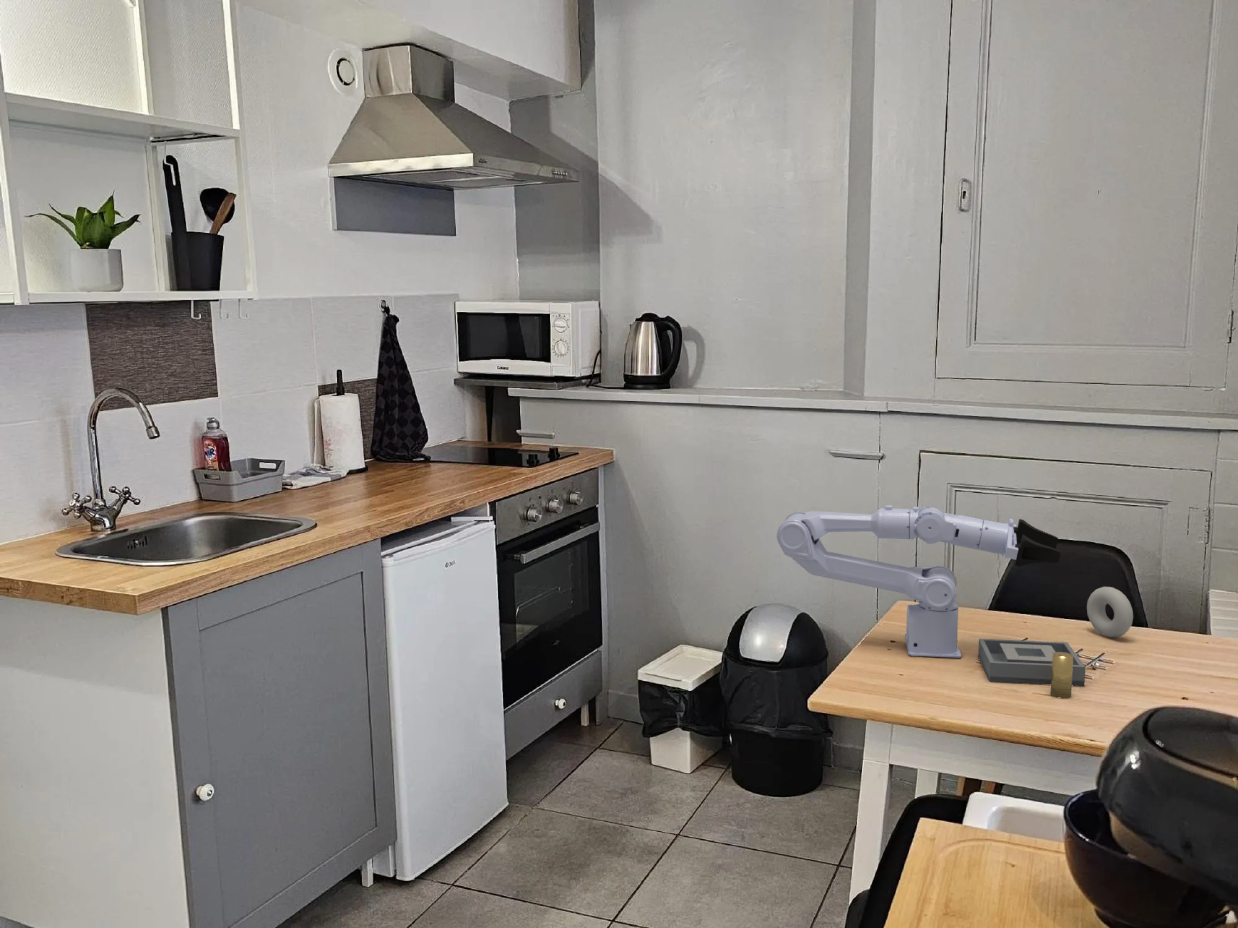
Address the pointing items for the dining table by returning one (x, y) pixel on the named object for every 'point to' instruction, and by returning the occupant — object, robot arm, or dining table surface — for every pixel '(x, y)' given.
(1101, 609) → the donut
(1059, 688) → the connector
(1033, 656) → the inlet
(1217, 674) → the dining table surface
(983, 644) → the box
